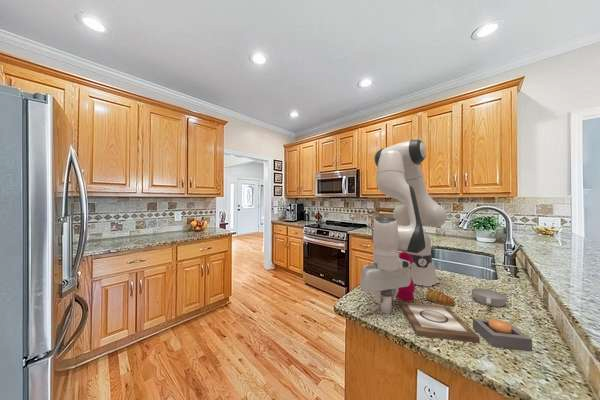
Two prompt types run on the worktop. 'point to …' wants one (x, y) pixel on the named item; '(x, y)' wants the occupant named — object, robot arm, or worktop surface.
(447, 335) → the board
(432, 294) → the pastry
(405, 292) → the pepper mill
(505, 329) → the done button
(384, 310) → the marker
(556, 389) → the worktop surface
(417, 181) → the robot arm
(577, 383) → the worktop surface
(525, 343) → the button base
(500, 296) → the small pan
